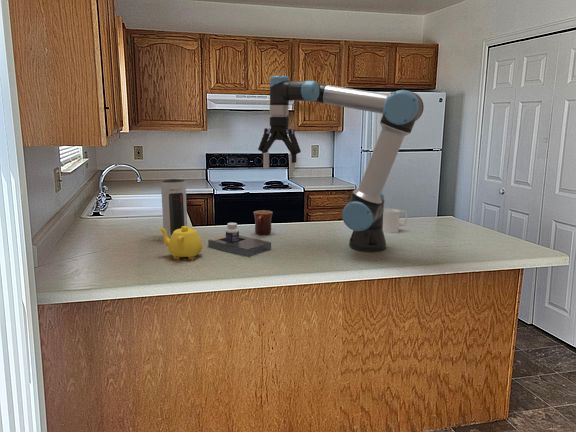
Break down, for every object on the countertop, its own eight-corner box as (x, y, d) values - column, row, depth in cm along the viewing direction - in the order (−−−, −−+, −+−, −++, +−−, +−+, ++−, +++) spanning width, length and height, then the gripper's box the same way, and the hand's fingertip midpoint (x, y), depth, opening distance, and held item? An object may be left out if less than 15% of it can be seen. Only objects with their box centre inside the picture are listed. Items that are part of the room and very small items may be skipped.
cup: (407, 233, 227) (409, 212, 225) (381, 232, 228) (382, 211, 226) (405, 229, 235) (406, 209, 233) (380, 228, 236) (381, 208, 234)
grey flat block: (271, 249, 197) (271, 242, 197) (247, 256, 186) (247, 249, 186) (232, 240, 211) (232, 233, 210) (208, 247, 200) (208, 239, 199)
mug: (256, 231, 228) (256, 209, 226) (274, 232, 226) (274, 210, 224) (249, 237, 216) (249, 215, 214) (268, 238, 214) (268, 215, 212)
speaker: (162, 242, 207) (160, 181, 201) (163, 236, 217) (161, 178, 211) (188, 241, 209) (186, 180, 203) (187, 235, 219) (186, 177, 213)
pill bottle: (233, 249, 197) (233, 225, 195) (223, 247, 200) (222, 223, 198) (241, 246, 202) (241, 223, 200) (231, 244, 205) (231, 221, 203)
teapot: (189, 249, 196) (188, 220, 194) (210, 256, 186) (210, 226, 184) (158, 255, 187) (157, 225, 184) (179, 264, 177) (178, 232, 174)
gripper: (310, 116, 188) (309, 171, 193) (261, 116, 204) (262, 166, 208) (298, 116, 183) (297, 172, 187) (249, 116, 198) (250, 168, 202)
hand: (278, 169), depth 197 cm, fingers open, 13 cm apart
